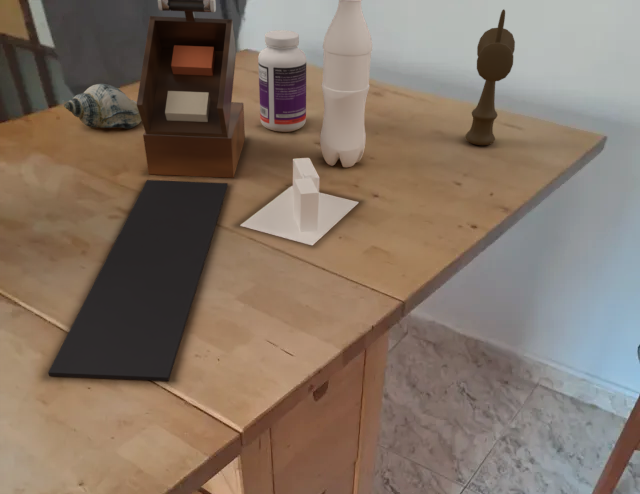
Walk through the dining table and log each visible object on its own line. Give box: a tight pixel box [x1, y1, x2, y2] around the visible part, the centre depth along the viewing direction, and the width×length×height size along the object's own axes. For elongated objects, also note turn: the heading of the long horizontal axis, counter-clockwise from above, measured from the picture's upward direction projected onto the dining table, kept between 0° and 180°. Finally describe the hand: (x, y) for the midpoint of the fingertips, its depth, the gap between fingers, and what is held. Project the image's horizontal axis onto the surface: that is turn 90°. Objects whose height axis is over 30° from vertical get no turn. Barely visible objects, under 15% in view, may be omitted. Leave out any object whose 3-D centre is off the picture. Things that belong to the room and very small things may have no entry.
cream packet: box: [165, 91, 210, 122], centre depth 100 cm, size 4×6×2 cm, turn 88°
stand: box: [142, 101, 246, 178], centre depth 108 cm, size 16×13×6 cm
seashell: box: [63, 83, 142, 130], centre depth 117 cm, size 6×8×12 cm
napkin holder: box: [239, 157, 359, 246], centre depth 94 cm, size 15×11×6 cm
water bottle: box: [319, 0, 373, 168], centre depth 102 cm, size 7×7×25 cm
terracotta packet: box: [171, 45, 215, 76], centre depth 103 cm, size 4×6×2 cm, turn 88°
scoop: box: [136, 0, 237, 138], centre depth 98 cm, size 16×12×9 cm
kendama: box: [465, 8, 516, 146], centre depth 111 cm, size 6×10×20 cm, turn 168°
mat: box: [47, 179, 229, 382], centre depth 85 cm, size 46×12×1 cm, turn 178°
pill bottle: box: [257, 29, 307, 133], centre depth 116 cm, size 8×8×14 cm
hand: (188, 10), depth 97 cm, fingers closed on scoop, 5 cm apart
